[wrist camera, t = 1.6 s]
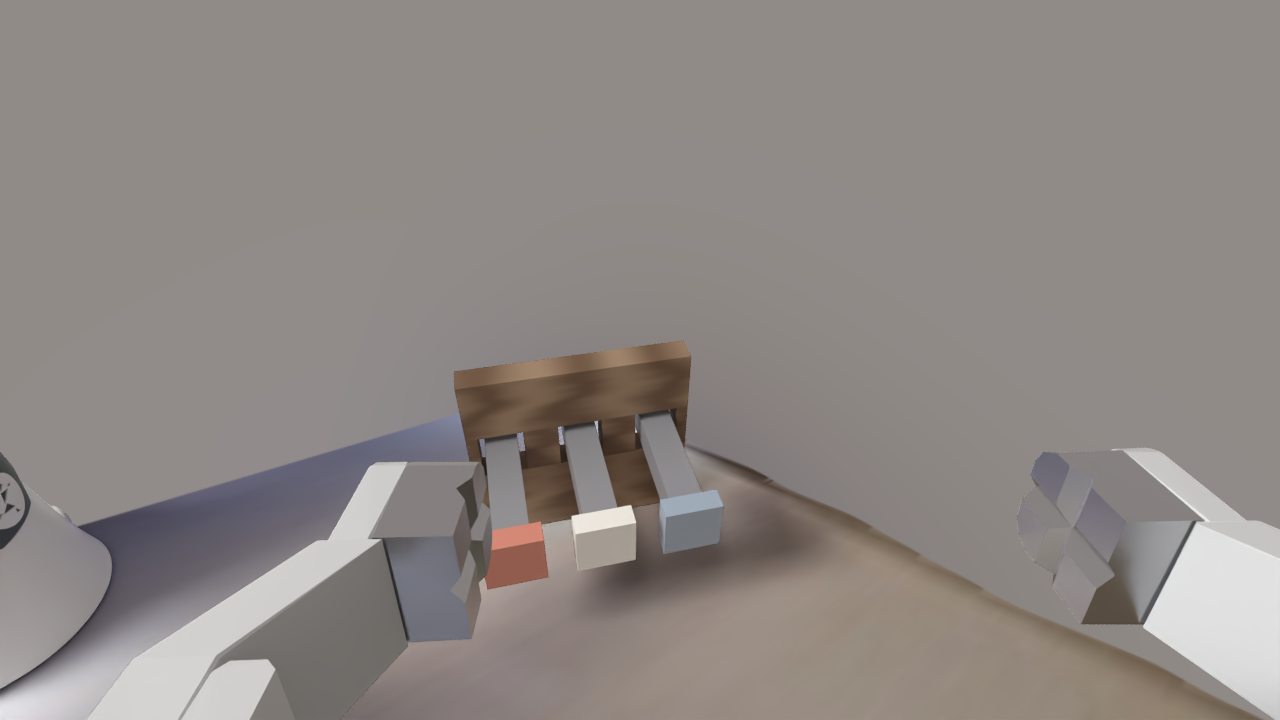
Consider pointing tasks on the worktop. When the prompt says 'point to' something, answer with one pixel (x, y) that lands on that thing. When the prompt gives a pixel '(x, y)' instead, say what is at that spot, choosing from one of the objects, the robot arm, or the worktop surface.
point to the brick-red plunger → (511, 519)
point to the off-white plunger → (596, 504)
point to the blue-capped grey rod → (677, 487)
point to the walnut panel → (576, 417)
